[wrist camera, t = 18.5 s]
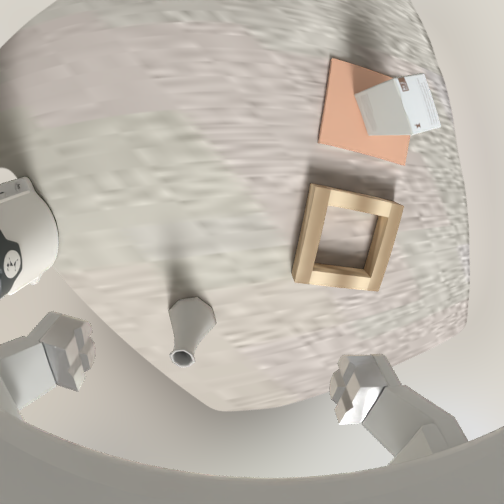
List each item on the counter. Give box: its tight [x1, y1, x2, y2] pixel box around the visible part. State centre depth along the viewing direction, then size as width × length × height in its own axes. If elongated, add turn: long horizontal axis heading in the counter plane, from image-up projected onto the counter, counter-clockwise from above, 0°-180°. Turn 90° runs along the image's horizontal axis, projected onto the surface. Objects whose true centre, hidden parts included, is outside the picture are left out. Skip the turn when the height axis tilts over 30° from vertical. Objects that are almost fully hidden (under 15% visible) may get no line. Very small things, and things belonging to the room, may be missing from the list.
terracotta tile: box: [318, 58, 410, 166], centre depth 34 cm, size 13×12×1 cm
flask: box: [169, 297, 216, 367], centre depth 40 cm, size 7×7×10 cm
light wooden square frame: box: [291, 183, 404, 291], centre depth 39 cm, size 13×13×3 cm
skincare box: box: [354, 73, 441, 136], centre depth 28 cm, size 6×4×12 cm
